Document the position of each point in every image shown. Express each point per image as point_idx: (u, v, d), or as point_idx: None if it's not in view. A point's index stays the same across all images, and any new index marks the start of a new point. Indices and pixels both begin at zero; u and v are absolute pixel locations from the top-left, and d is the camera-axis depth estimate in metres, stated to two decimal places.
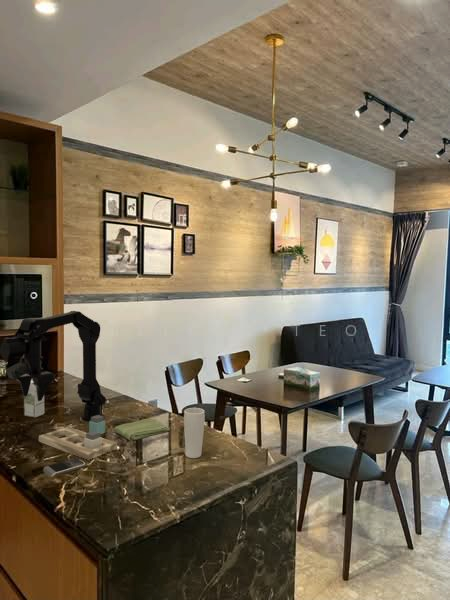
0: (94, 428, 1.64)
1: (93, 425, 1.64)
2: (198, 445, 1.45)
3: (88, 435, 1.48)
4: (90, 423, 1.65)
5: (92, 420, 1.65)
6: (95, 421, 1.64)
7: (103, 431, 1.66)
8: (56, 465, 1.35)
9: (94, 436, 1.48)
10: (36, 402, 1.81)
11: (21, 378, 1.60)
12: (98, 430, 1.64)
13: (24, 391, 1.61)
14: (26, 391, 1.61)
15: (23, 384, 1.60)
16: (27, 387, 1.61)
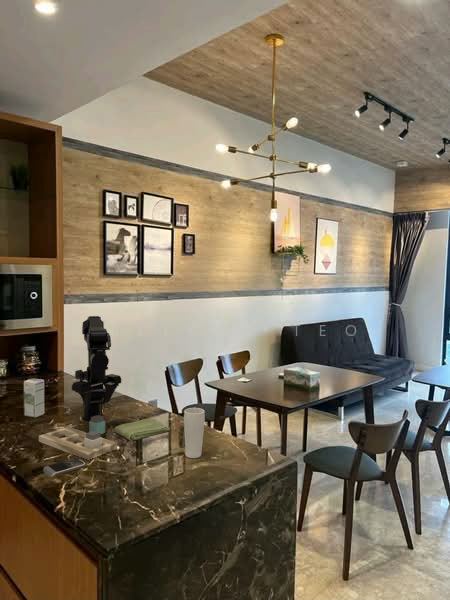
0: (94, 428, 1.64)
1: (93, 425, 1.64)
2: (198, 445, 1.45)
3: (88, 435, 1.48)
4: (90, 423, 1.65)
5: (92, 420, 1.65)
6: (95, 421, 1.64)
7: (103, 431, 1.66)
8: (56, 465, 1.35)
9: (94, 436, 1.48)
10: (36, 402, 1.81)
11: (106, 385, 1.70)
12: (98, 430, 1.64)
13: (105, 398, 1.70)
14: (107, 398, 1.69)
15: (105, 391, 1.70)
16: (108, 395, 1.69)
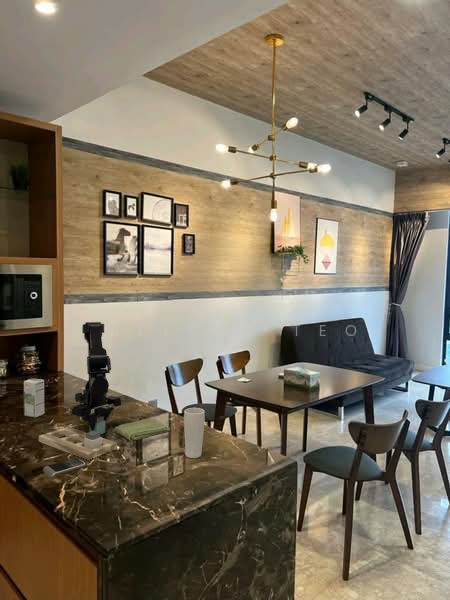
0: (94, 428, 1.64)
1: None
2: (198, 445, 1.45)
3: (88, 435, 1.48)
4: None
5: None
6: None
7: (103, 431, 1.66)
8: (56, 465, 1.36)
9: (94, 436, 1.48)
10: (36, 402, 1.81)
11: (100, 409, 1.69)
12: (98, 430, 1.64)
13: None
14: None
15: (100, 415, 1.68)
16: None
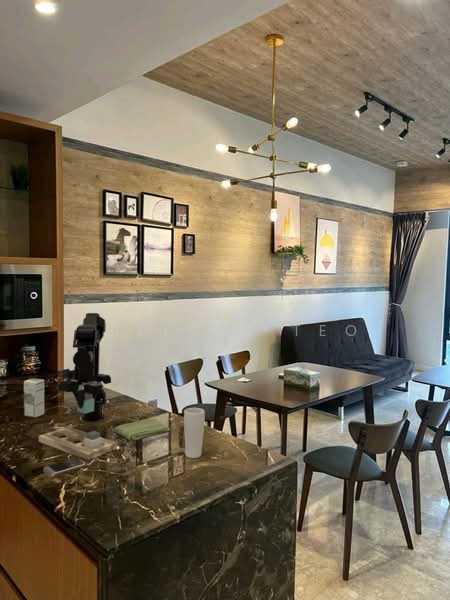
0: (82, 406, 1.55)
1: None
2: (198, 445, 1.45)
3: (88, 435, 1.48)
4: None
5: None
6: None
7: (92, 409, 1.57)
8: (56, 465, 1.36)
9: (93, 436, 1.48)
10: (36, 402, 1.81)
11: (89, 386, 1.60)
12: (86, 408, 1.55)
13: None
14: None
15: None
16: None
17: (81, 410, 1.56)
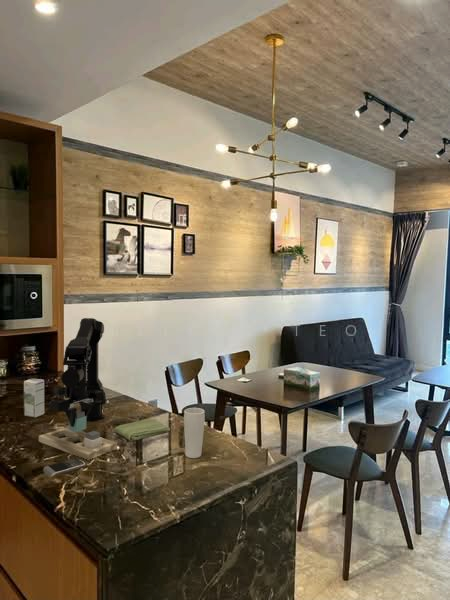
0: (74, 424, 1.51)
1: None
2: (198, 445, 1.45)
3: (88, 435, 1.48)
4: None
5: None
6: None
7: (84, 427, 1.54)
8: (56, 465, 1.36)
9: (94, 436, 1.48)
10: (36, 402, 1.81)
11: (81, 403, 1.56)
12: (78, 427, 1.51)
13: None
14: None
15: (81, 410, 1.56)
16: None
17: (73, 428, 1.52)
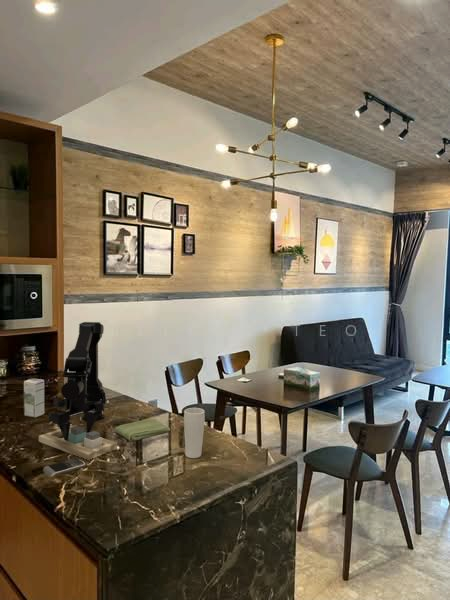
0: (74, 440, 1.52)
1: (73, 437, 1.52)
2: (198, 445, 1.45)
3: (88, 435, 1.48)
4: (70, 435, 1.53)
5: (72, 431, 1.53)
6: (75, 433, 1.52)
7: None
8: (56, 465, 1.36)
9: (94, 436, 1.48)
10: (36, 402, 1.81)
11: (87, 413, 1.58)
12: None
13: (87, 427, 1.58)
14: (88, 428, 1.57)
15: (87, 420, 1.58)
16: (89, 424, 1.57)
17: None
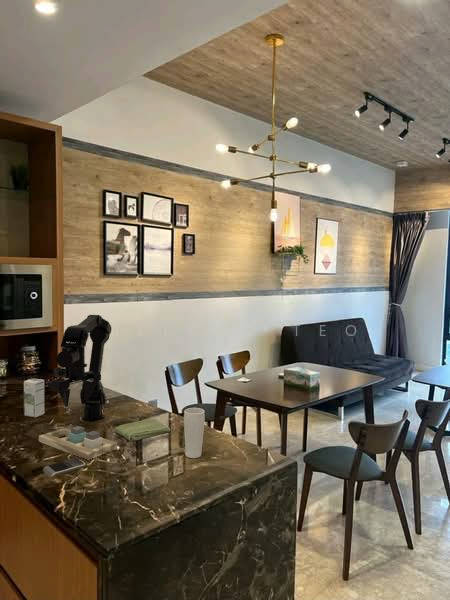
0: (74, 440, 1.52)
1: (73, 437, 1.52)
2: (198, 445, 1.45)
3: (88, 435, 1.48)
4: (70, 435, 1.53)
5: (72, 431, 1.53)
6: (75, 433, 1.52)
7: None
8: (56, 465, 1.36)
9: (93, 436, 1.48)
10: (36, 402, 1.81)
11: (85, 382, 1.69)
12: None
13: (85, 395, 1.68)
14: (86, 395, 1.68)
15: (85, 388, 1.68)
16: (88, 392, 1.68)
17: None
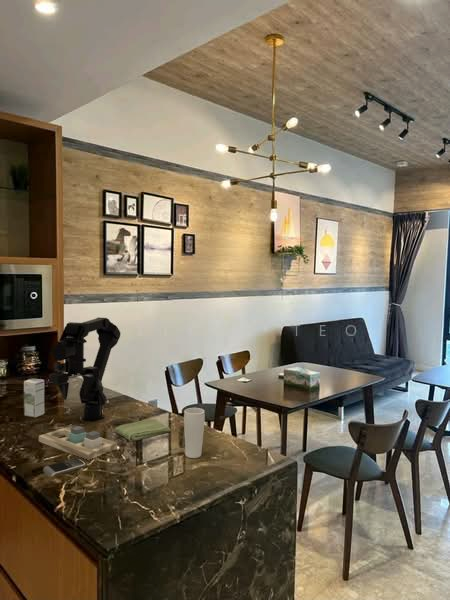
0: (74, 440, 1.52)
1: (73, 437, 1.52)
2: (198, 445, 1.45)
3: (88, 435, 1.48)
4: (70, 435, 1.53)
5: (72, 431, 1.53)
6: (75, 433, 1.52)
7: None
8: (56, 465, 1.36)
9: (94, 436, 1.48)
10: (36, 402, 1.81)
11: (84, 377, 1.74)
12: None
13: (84, 390, 1.73)
14: (85, 390, 1.73)
15: (84, 383, 1.74)
16: (86, 387, 1.73)
17: None
